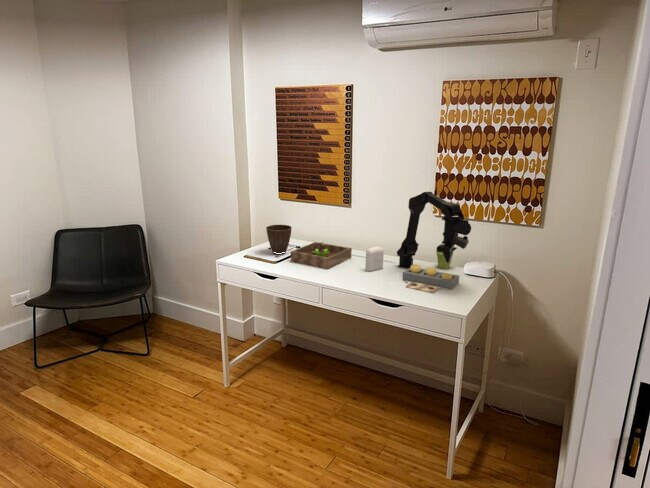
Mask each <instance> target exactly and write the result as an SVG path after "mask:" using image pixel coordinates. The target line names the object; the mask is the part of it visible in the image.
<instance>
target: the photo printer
mask: <svg viewBox="0 0 650 488" xmlns="http://www.w3.org/2000/svg"><path fill="white" fill-rule="evenodd" d="M383 268H384V248H383V247H380V246H373V247H370V248H368V249H367V250H366V251H365V271H367V272H372V271H378V270H383Z"/></svg>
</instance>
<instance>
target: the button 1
mask: <svg viewBox="0 0 650 488" xmlns="http://www.w3.org/2000/svg"><path fill="white" fill-rule="evenodd" d="M421 269H422V266H421V265H419V264H413V265H411V271H410V272H412V273H417V274H419V273H421Z"/></svg>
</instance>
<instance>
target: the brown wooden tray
mask: <svg viewBox="0 0 650 488" xmlns="http://www.w3.org/2000/svg"><path fill="white" fill-rule="evenodd" d="M320 243H321V242H317V241H314V242H312V243H309V244H306V245H304V246H301V247H298V248H296V249H294V250H291V251H290V263H294V264H301V265H304V266H309V267H315V268H321V269H324V270H330V269H332V268H334V267H337V266H338V265H340V264H343V263H344V262H346V261H348V260H351V259H352V247H349V246H348V247H347V246H346V247H345V246H341V245H336V244H329V243H324V242H323V243H324V246H322V248H323V250H324V249H328V250H327V252H329V251H330V252H331V253H335V254H334V255H332V256H330V257H328V258H327V257H322V256H317V255H311V254H308V253H312V252H313V251H315V250H316V248H317V247H319V248H321V246H320ZM312 246H317V247H314V248H313V249H312ZM317 249H318V248H317Z"/></svg>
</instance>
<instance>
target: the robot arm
mask: <svg viewBox="0 0 650 488" xmlns="http://www.w3.org/2000/svg"><path fill="white" fill-rule="evenodd" d="M428 203H429V204H431V205H433V207H435V208H437V209H438V210H440V213H441V214H442V215H443V217H441V221H444V228H443V232H442V236H443V239H442V241H441V244H439V245H438V246H436V251H438V252H442V253H443V255H444V257H445V260H446V262H447V263H449V262H450V259H451V256H452V253H453V252H454V251H456V250H457V249H458V248H461V249H463V250H464V249H466V248H467V246H468V244H469V237H468V235H469V234H470V233H471V231H472V225H471V224H470V223H469V220H468V219H465V216H464V215H465V214H463V211H462V209H461V206H460V204H458V203H455V202H450V201H446V200H445V199H443V198H441V197H440V196H438V195H436V194H435V193H433V192H432V191H423V192H422V193H420V194H418V195H416V196H413V197H410V198H409V200H408V205H407V206H408V210H409V212H410V213H409V218H408V219H409V220H408V223H407V224H408V225H407V230H406V236H405V237H404V239H403V240H402V242H401V245H400V248H398V250H397V251H396V254H397V256H398V257H399V259H398V261H399V262H398V265H397V267H399V268H403V269H409V268H410V267H411V265H414V258H413V256H415V255H416V253H417V251H418V248H419V243H418V242H417V240H416V239H417V238H416V237H417V234H418V226H419V222H420V217H421V214H422V213H423V211H424V210H425V208H426V205H427V204H428ZM459 235H463V236H459ZM455 246H456V247H455ZM452 257H453V256H452ZM451 260H452V259H451Z"/></svg>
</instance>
